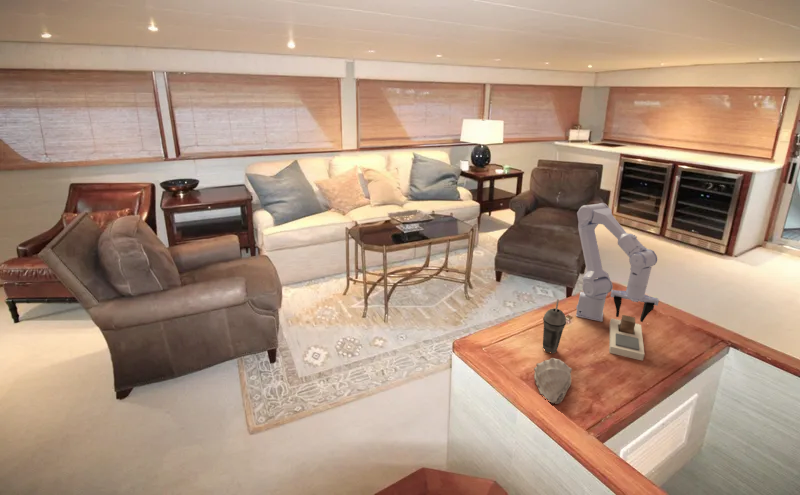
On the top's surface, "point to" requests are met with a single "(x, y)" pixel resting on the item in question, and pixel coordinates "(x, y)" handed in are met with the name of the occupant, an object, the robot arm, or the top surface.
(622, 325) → the walnut block
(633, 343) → the slate mat
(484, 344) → the top surface
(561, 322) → the beverage cup
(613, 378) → the top surface
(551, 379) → the seashell
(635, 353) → the pocket board
